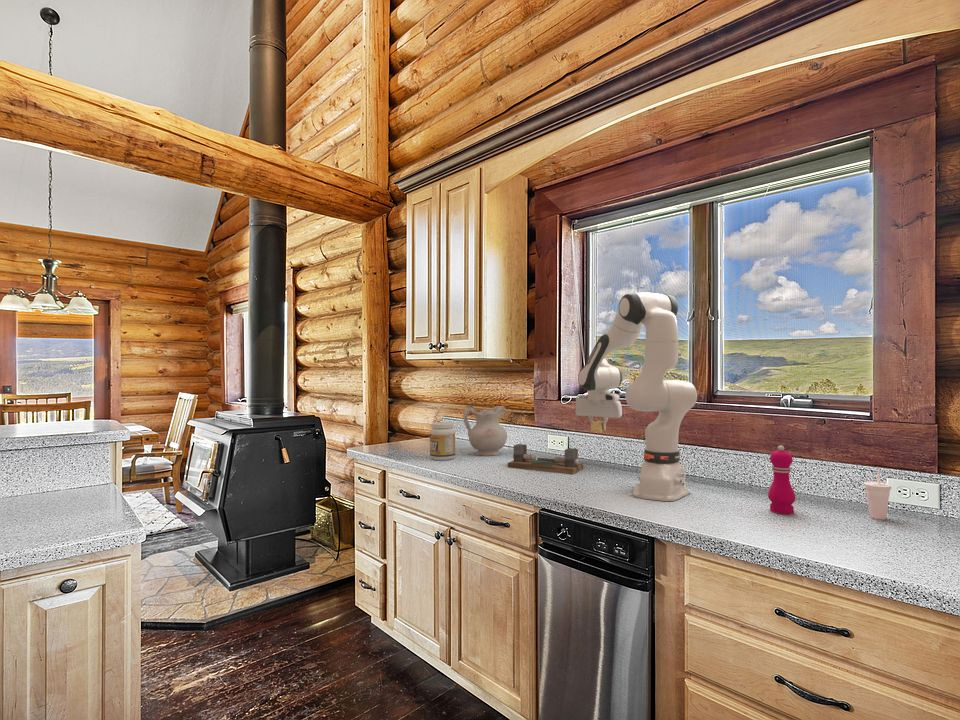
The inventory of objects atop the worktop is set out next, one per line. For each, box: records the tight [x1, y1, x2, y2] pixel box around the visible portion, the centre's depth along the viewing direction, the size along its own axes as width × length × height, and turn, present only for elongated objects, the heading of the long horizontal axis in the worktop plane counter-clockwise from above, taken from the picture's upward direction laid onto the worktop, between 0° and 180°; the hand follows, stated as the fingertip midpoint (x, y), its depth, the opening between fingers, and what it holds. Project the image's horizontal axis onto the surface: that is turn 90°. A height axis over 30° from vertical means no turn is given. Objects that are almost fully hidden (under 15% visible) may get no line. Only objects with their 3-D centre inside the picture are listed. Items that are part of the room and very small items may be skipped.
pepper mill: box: [767, 445, 796, 515], centre depth 158 cm, size 7×7×20 cm
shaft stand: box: [507, 443, 584, 475], centre depth 225 cm, size 12×30×9 cm, turn 59°
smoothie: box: [863, 468, 892, 521], centre depth 151 cm, size 6×6×14 cm
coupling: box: [590, 420, 607, 433], centre depth 228 cm, size 4×8×4 cm, turn 148°
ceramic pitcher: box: [462, 404, 508, 457], centre depth 260 cm, size 22×20×25 cm
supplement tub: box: [429, 421, 456, 461], centre depth 250 cm, size 12×12×17 cm
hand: (598, 427), depth 228 cm, fingers closed on coupling, 3 cm apart
